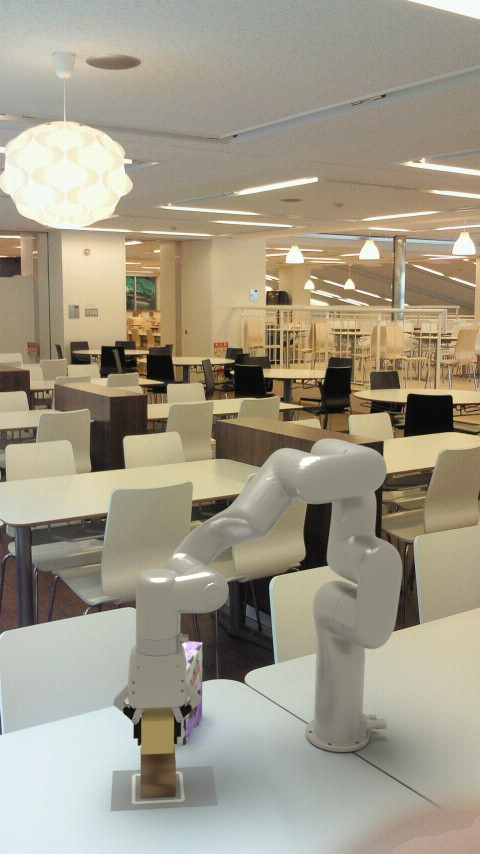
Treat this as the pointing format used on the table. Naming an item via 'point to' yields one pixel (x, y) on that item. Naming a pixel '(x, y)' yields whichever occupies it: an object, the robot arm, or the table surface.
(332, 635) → the robot arm
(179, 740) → the candy box
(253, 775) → the table surface
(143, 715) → the ochre block
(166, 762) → the walnut block
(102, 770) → the table surface
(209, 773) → the board
